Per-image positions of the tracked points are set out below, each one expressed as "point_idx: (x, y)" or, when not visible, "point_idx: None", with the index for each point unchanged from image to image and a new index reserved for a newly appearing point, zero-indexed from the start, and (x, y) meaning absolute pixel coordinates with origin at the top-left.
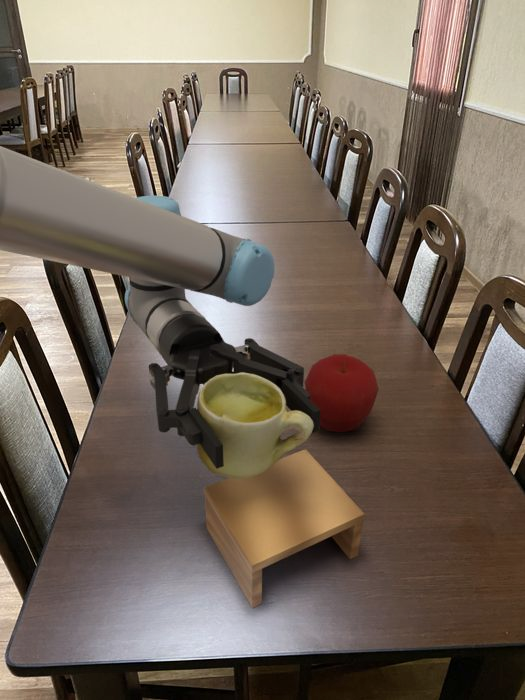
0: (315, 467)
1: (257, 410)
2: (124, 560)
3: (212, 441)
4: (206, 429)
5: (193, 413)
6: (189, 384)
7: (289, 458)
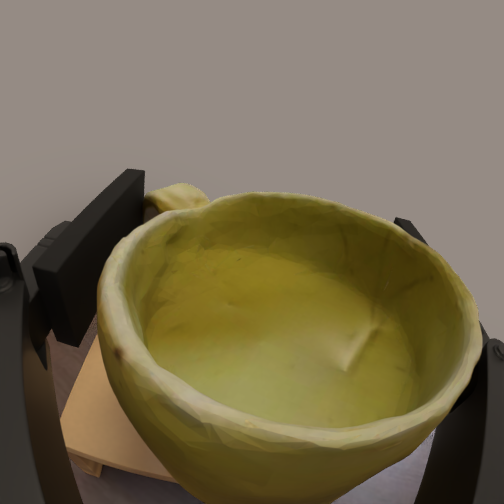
0: (80, 397)
1: (206, 339)
2: (396, 500)
3: (416, 230)
4: None
5: None
6: (490, 490)
7: (97, 448)
